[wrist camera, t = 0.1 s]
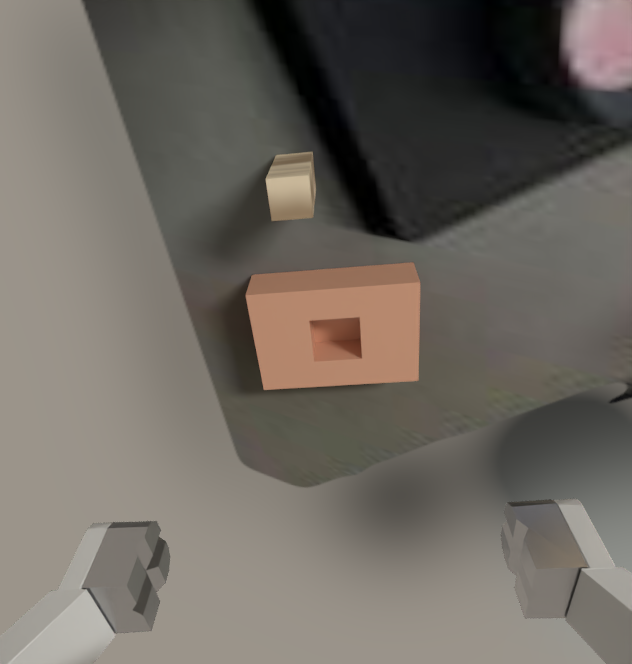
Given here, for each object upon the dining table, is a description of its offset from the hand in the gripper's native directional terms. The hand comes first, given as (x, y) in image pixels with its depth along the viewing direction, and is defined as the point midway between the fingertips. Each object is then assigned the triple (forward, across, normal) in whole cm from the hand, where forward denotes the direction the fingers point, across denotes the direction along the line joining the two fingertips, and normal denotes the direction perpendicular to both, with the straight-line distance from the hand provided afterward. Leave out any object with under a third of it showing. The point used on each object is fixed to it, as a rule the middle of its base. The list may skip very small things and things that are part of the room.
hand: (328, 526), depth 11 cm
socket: (+48, +1, +22) cm, 53 cm away
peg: (+48, +4, +3) cm, 48 cm away
